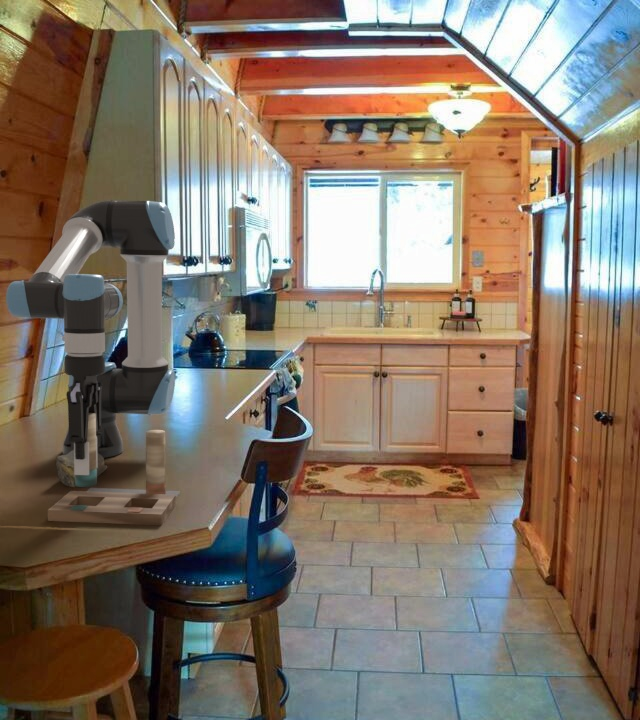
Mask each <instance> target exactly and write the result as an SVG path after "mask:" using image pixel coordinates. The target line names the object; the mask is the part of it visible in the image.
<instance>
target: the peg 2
mask: <svg viewBox="0 0 640 720" xmlns="http://www.w3.org/2000/svg"><path fill="white" fill-rule="evenodd" d="M166 488H167V487H166V431H165V430H163V429H162V430H161V429H150V430H146V431H145V490H146V494H165V491H166Z"/></svg>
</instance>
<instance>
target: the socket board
mask: <svg viewBox="0 0 640 720" xmlns="http://www.w3.org/2000/svg"><path fill="white" fill-rule="evenodd" d="M176 505H177V497H176V495H168V494H141V493H115V492H89V491H87V490H86V491H85V490H83V491H82V490H70V491H68V493H66V494H65V495H64V496H62V497H61V498H60V499H59V500H58V501H57V502H55V504H53V505H51V507H49V508H48V509H47V521H49V522H67V523H68V522H70V523H94V524H97V523H98V524H119V525H120V524H121V525H123V524H124V525H142V526H143V525H146V526H148V525H149V526H162V525H163V524H164V523H165V521H166V520H167V518H168V517H169V515H170V514H171V512H172V511H173V510H174V509H175V507H176Z"/></svg>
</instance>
